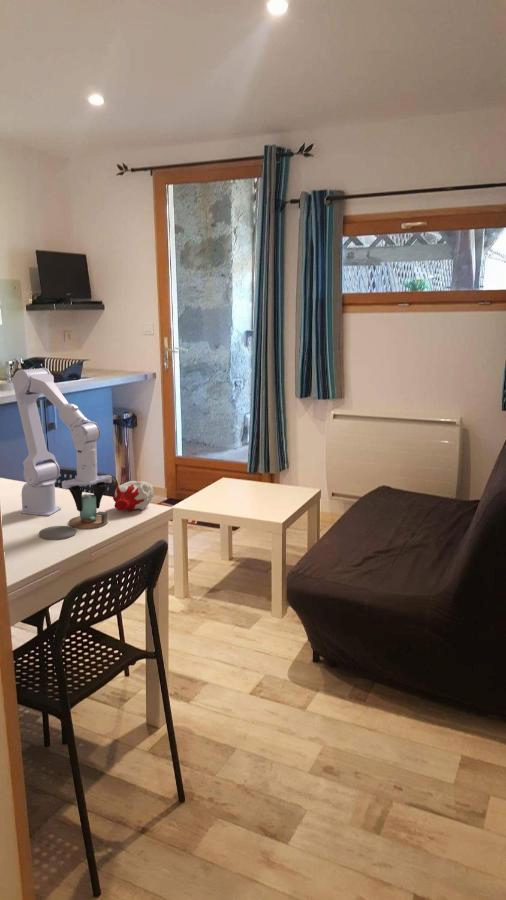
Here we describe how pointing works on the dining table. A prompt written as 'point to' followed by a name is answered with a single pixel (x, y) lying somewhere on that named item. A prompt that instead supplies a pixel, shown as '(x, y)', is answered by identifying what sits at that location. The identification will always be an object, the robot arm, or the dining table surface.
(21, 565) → the dining table surface
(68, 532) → the coaster
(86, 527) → the tan wide-brim hat
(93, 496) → the kettle
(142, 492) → the multicoloured piece
